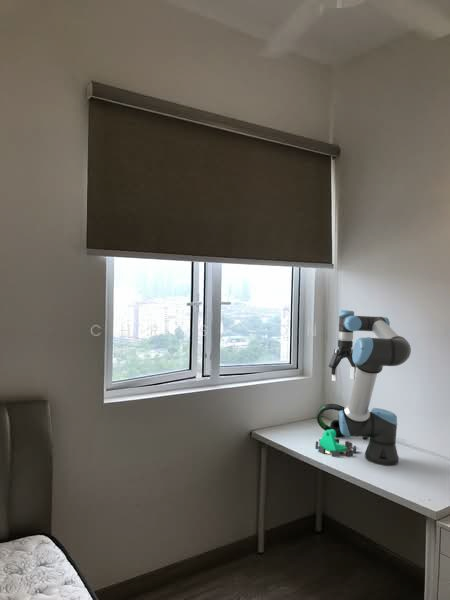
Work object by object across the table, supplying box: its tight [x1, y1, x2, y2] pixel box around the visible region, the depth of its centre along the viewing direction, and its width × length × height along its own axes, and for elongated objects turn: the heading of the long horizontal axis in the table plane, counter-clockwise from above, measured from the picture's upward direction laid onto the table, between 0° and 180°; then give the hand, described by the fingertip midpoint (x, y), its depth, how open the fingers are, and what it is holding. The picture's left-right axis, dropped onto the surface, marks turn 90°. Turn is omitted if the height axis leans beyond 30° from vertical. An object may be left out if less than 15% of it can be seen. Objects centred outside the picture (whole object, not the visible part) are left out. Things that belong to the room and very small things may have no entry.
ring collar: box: [315, 438, 357, 458], centre depth 236 cm, size 19×19×2 cm
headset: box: [316, 403, 369, 440], centre depth 257 cm, size 18×14×29 cm
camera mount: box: [318, 429, 347, 453], centre depth 235 cm, size 12×8×10 cm, turn 28°
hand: (343, 380), depth 252 cm, fingers open, 13 cm apart
